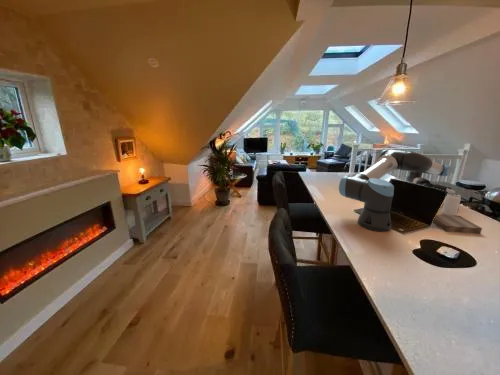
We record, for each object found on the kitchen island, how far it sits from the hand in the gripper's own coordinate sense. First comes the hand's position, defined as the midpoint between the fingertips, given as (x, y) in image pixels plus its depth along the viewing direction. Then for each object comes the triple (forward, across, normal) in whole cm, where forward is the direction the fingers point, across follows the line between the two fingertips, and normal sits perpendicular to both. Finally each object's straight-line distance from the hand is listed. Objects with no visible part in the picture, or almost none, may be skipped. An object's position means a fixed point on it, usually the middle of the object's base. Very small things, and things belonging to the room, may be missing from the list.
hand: (441, 192), depth 138 cm
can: (+11, 0, -10) cm, 15 cm away
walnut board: (+28, +9, -9) cm, 30 cm away
